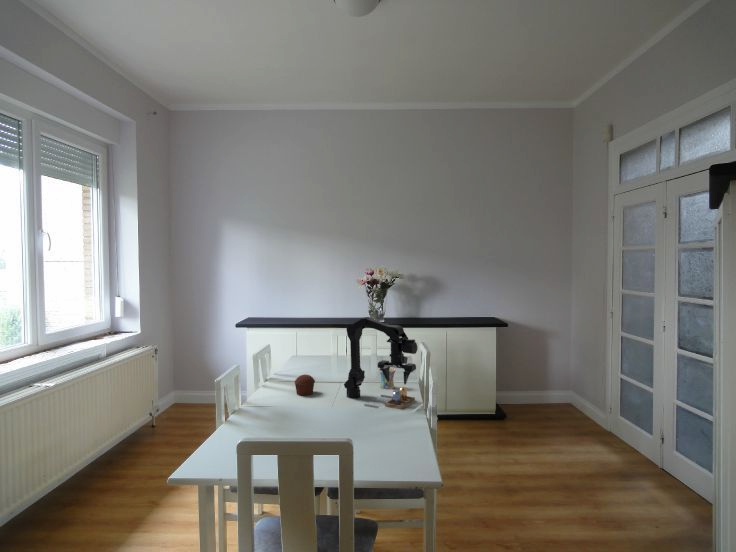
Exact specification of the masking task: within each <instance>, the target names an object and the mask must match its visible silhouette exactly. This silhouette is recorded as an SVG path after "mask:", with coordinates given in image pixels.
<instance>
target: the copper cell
mask: <svg viewBox="0 0 736 552" xmlns="http://www.w3.org/2000/svg"><path fill="white" fill-rule="evenodd" d="M399 391H400V400H404V401H407V396H408V388H407V387H405V386H400V387H399Z"/></svg>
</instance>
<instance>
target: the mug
mask: <svg viewBox="0 0 736 552" xmlns="http://www.w3.org/2000/svg"><path fill="white" fill-rule="evenodd" d="M395 372H396V368H394V367H390V369H389V382H387V380H386V378H385V375H384V374H383V372H382V370H380V368H379V374H380V377H381V378H380V380H381V381H380V386H379V388H380V389H383V390H392V389H395V387H396V386H395V383H394V376H395Z"/></svg>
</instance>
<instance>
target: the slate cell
mask: <svg viewBox="0 0 736 552" xmlns="http://www.w3.org/2000/svg"><path fill="white" fill-rule="evenodd" d="M392 396H393V404H396V405H400V390H393V391H392Z"/></svg>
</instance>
